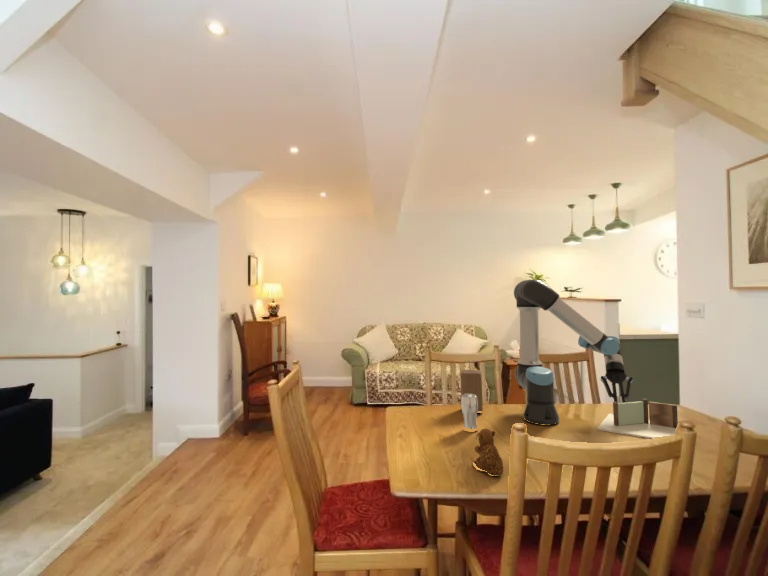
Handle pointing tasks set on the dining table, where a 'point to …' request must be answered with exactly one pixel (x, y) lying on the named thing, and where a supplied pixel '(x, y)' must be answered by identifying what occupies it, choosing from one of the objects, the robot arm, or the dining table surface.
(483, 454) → the brown plush animal
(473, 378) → the wooden block
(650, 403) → the fixed fence
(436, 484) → the dining table surface
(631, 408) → the green fence panel
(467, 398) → the beer glass
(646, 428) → the card
